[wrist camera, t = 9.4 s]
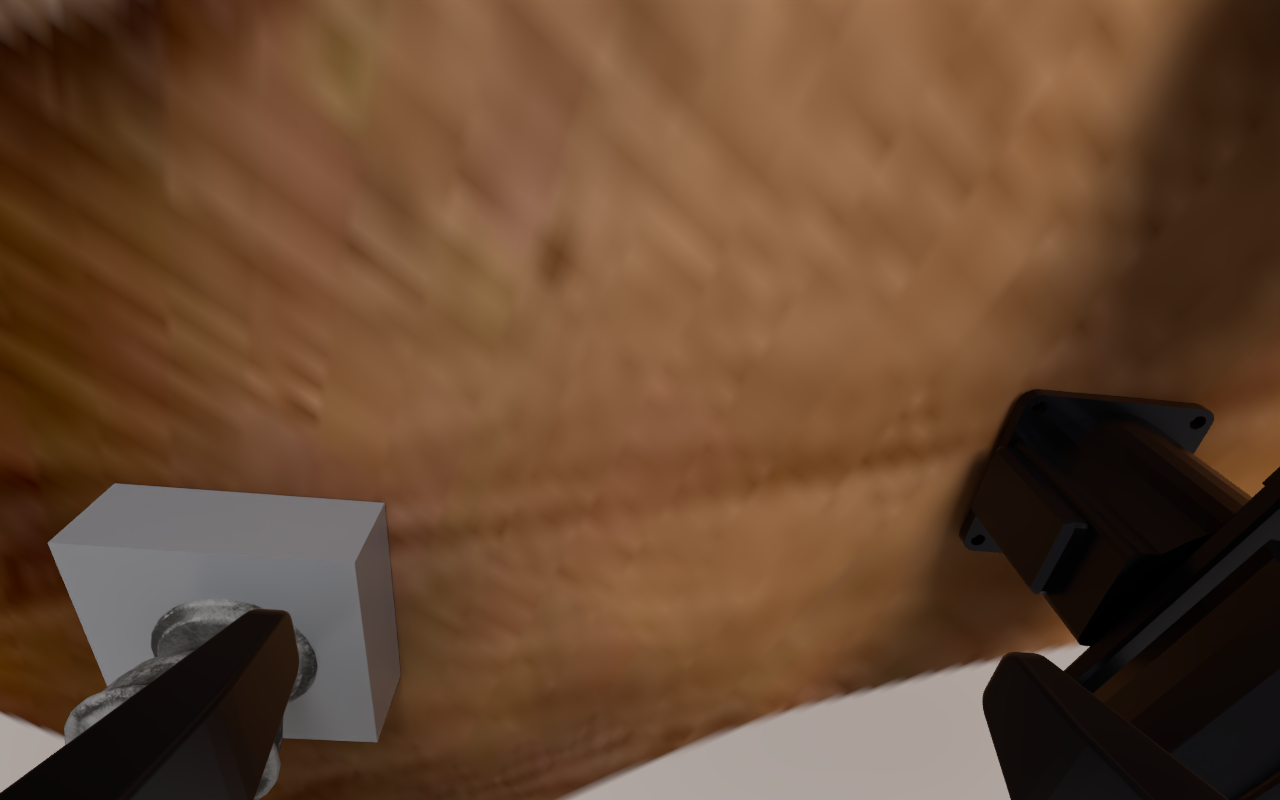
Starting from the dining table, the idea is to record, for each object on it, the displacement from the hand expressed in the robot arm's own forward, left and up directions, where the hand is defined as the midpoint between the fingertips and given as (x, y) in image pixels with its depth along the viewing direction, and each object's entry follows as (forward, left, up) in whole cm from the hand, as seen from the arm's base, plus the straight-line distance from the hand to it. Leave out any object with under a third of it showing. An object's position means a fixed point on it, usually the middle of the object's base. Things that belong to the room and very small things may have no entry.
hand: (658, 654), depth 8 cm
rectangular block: (+12, +13, -13) cm, 22 cm away
